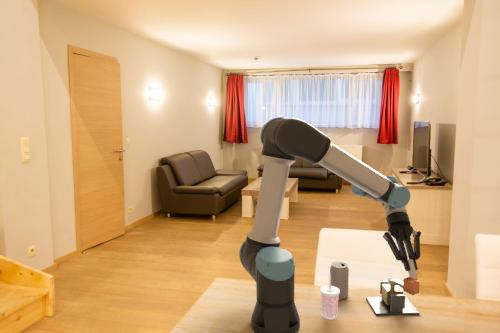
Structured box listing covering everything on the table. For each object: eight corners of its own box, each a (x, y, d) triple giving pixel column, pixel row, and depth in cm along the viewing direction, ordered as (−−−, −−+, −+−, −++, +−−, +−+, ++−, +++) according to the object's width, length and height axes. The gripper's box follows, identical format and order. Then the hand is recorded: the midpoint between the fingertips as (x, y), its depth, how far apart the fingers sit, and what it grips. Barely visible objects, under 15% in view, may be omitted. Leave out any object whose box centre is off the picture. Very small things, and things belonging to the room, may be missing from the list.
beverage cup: (323, 321, 121) (324, 279, 119) (317, 311, 127) (318, 271, 125) (342, 319, 122) (343, 278, 120) (335, 310, 128) (335, 270, 126)
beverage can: (349, 300, 135) (350, 268, 133) (331, 300, 135) (332, 268, 133) (345, 292, 141) (346, 260, 139) (328, 292, 141) (328, 261, 139)
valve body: (376, 315, 124) (377, 292, 123) (366, 299, 135) (366, 278, 134) (419, 315, 124) (420, 292, 123) (405, 298, 135) (406, 277, 134)
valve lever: (386, 283, 129) (386, 271, 129) (392, 281, 131) (392, 269, 130) (412, 296, 120) (413, 283, 120) (418, 293, 122) (419, 280, 121)
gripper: (411, 219, 141) (430, 283, 127) (375, 220, 141) (391, 284, 127) (418, 209, 135) (439, 275, 121) (381, 210, 135) (398, 276, 121)
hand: (414, 280), depth 124 cm, fingers closed
